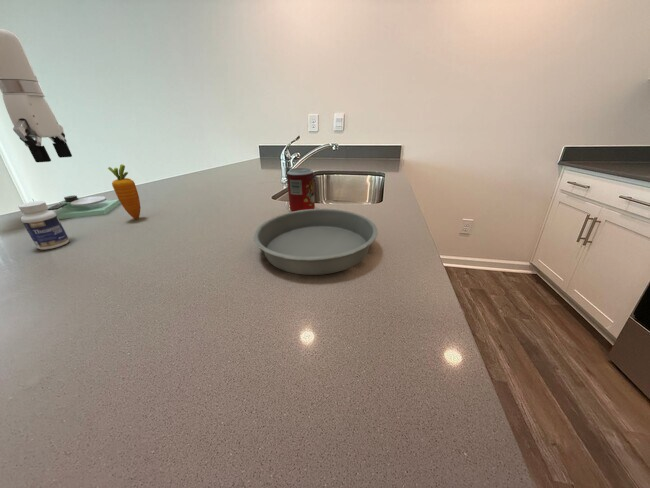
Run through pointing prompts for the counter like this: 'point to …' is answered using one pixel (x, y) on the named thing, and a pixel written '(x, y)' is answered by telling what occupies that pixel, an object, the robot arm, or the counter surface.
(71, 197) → the tare button
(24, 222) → the pill bottle
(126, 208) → the carrot
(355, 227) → the cake pan
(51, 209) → the scale display
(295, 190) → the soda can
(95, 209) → the scale
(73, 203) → the weighing plate
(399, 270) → the counter surface
